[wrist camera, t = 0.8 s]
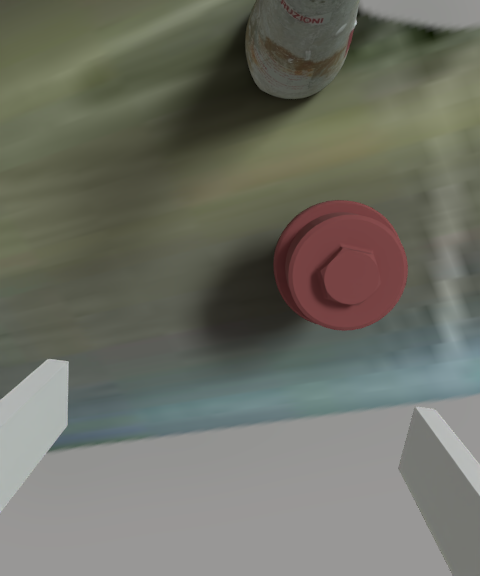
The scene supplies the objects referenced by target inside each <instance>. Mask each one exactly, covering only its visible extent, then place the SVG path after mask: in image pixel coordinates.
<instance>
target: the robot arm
mask: <svg viewBox="0 0 480 576" xmlns="http://www.w3.org/2000/svg"><path fill="white" fill-rule="evenodd" d="M68 362H69V361H61V360H54V359H47V360H46V361H45V362H44V363H43V364H42V365H40V366H39V367H38V368H37V369H36V370H35V371H34V372H32V373H31V374H30V375H29V376H28V377H27V378H25V379H24V380H23V381H22V382H21V383H20V384H18V385H17V386H16V387H15V388H14V389H13V390H11V391H10V392H9V393H8V394H7V395H6V396H4V397H3V398H2V399H1V400H0V513H1V512H2V510H3V509H4V508H5V506H6V505H7V504H8V502H9V501H10V500H11V498H12V497H13V496H14V495H15V493H16V492H17V491H18V489H19V488H20V487H21V485H22V484H23V483H24V481H25V480H26V479H27V477H28V476H29V475H30V474H31V472H32V471H33V470H34V468H35V467H36V466H37V464H38V463H39V462H40V461H41V459H42V458H43V457H44V455H45V454H46V453H47V451H48V450H49V449H50V447H51V446H52V445H53V444H54V442H55V441H56V440H57V438H58V437H59V436H60V434H61V433H62V432H63V430H64V429H65V428H66V427H67V419H68ZM398 469H399V471H400V472H401V474H402V476H403V478H404V480H405V482H406V484H407V486H408V488H409V490H410V492H411V494H412V496H413V498H414V500H415V502H416V504H417V506H418V508H419V510H420V512H421V514H422V516H423V518H424V520H425V522H426V524H427V526H428V528H429V529H430V531H431V533H432V535H433V537H434V539H435V541H436V543H437V545H438V547H439V549H440V551H441V553H442V555H443V557H444V559H445V561H446V563H447V565H448V567H449V569H450V571H451V573H452V575H453V576H480V464H479V463H478V462H477V461H476V459H475V458H474V457H473V456H472V454H471V453H470V452H469V451H468V449H467V448H466V447H465V446H464V444H463V443H462V442H461V441H460V440H459V438H458V437H457V436H456V435H455V433H454V432H453V431H452V429H451V428H450V427H449V426H448V425H447V423H446V422H445V421H444V419H443V418H442V417H441V416H440V415H439V413H438V412H437V411H436V410H435V409H431V408H423V407H415V408H414V412H413V415H412V419H411V423H410V427H409V430H408V434H407V438H406V441H405V445H404V449H403V453H402V456H401V460H400V464H399V468H398Z"/></svg>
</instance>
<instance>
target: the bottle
mask: <svg viewBox="0 0 480 576" xmlns="http://www.w3.org/2000/svg"><path fill="white" fill-rule="evenodd" d="M359 2H360V0H256V2H255V4H254V6H253V9H252V11H251V13H250V16H249V19H248V24H247V29H246V37H245V50H246V57H247V62H248V67H249V70H250V72H251V75H252V77H253V79H254V81H255V83H256V84H257V86H258V87H259V88H260V89H261V90H262V91H264V92H266V93H268V94H270V95H273V96H276V97H280V98H285V99H299V98H304V97H308V96H311V95H313V94H315V93H317V92H319V91H320V90H322V89H323V88H324V87H326V86H327V85H328V84H329V83H330V82H331V81H332V80H333V79H334V77H335V76H336V75H337V73H338V72H339V70H340V69H341V67H342V65H343V63H344V61H345V58H346V56H347V53H348V49H349V46H350V43H351V39H352V35H353V31H354V28H355V25H356V24H357V21H356V16H357V11H358V6H359Z"/></svg>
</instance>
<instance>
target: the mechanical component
mask: <svg viewBox="0 0 480 576" xmlns="http://www.w3.org/2000/svg"><path fill="white" fill-rule="evenodd" d="M273 266H274V275H275V280H276V284H277V287H278V290H279V292H280V294H281V296H282V298H283V299H284V300H285V302H286V303H287V305H288V306H289V307H290V308H291V309H292V310H293V311H294V312H295V313H297V314H298V315H299V316H301V317H302V318H304V319H306V320H308V321H310V322H313V323H315V324H319V325H321V326H323V327H326V328H330V329H334V330H355V329H360V328H363V327H366V326H369V325H371V324H373V323H375V322H377V321H379V320H380V319H381V318H383V317H384V316H385V315H387V314H388V313H389V312H390V311H391V310H392V309H393V307H394V306H395V305H396V303H397V302H398V301H399V299H400V297H401V295H402V293H403V291H404V288H405V285H406V280H407V274H408V265H407V257H406V254H405V251H404V248H403V246H402V244H401V242H400V240H399V237H398V235H397V233H396V231H395V229H394V228H393V226H392V225H391V224H390V222H389V221H388V220H387V219H386V218H385V217H384V216H383V215H382V214H380V213H379V212H378V211H376V210H374V209H373V208H371V207H369V206H366V205H364V204H361V203H357V202H353V201H344V200H334V201H326V202H322V203H319V204H316V205H314V206H311V207H309V208H307V209H306V210H304V211H302V212H301V213H300V214H298V215H297V216H296V217H295V218H294V219H293V220H292V221H291V222H290V223H289V224H288V225H287V227H286V228H285V229H284V231H283V232H282V234H281V236H280V238H279V240H278V243H277V245H276V249H275V253H274V263H273Z"/></svg>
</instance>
